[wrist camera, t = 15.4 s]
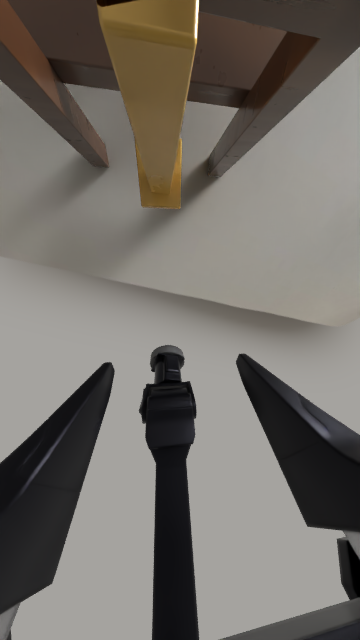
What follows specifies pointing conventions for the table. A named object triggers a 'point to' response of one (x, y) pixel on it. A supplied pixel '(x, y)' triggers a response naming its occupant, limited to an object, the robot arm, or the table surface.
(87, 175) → the table surface
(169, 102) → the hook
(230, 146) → the brown legged wooden frame
